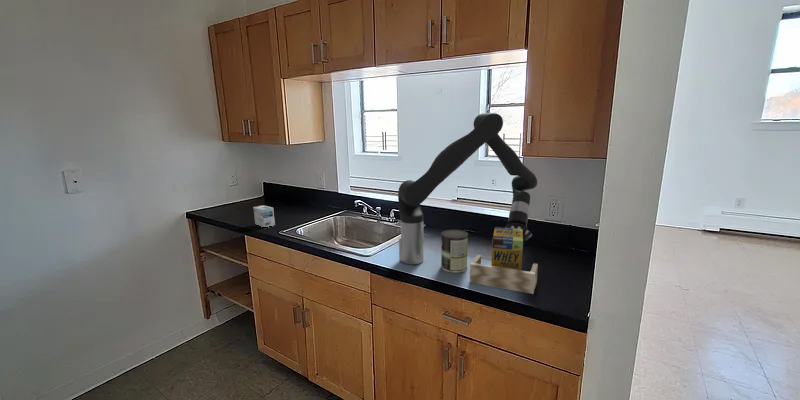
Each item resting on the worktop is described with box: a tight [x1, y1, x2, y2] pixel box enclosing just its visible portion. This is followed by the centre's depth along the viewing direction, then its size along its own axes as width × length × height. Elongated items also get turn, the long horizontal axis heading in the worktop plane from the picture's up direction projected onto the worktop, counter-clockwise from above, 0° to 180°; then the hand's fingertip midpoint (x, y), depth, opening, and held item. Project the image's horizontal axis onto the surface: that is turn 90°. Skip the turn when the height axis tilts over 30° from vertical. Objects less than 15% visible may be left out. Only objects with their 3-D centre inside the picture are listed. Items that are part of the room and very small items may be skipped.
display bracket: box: [469, 254, 539, 295], centre depth 129 cm, size 22×10×7 cm, turn 64°
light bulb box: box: [252, 204, 276, 228], centre depth 206 cm, size 11×7×11 cm, turn 49°
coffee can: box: [440, 229, 469, 274], centre depth 142 cm, size 10×10×14 cm
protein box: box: [490, 226, 524, 270], centre depth 137 cm, size 10×15×16 cm
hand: (512, 252), depth 144 cm, fingers closed
